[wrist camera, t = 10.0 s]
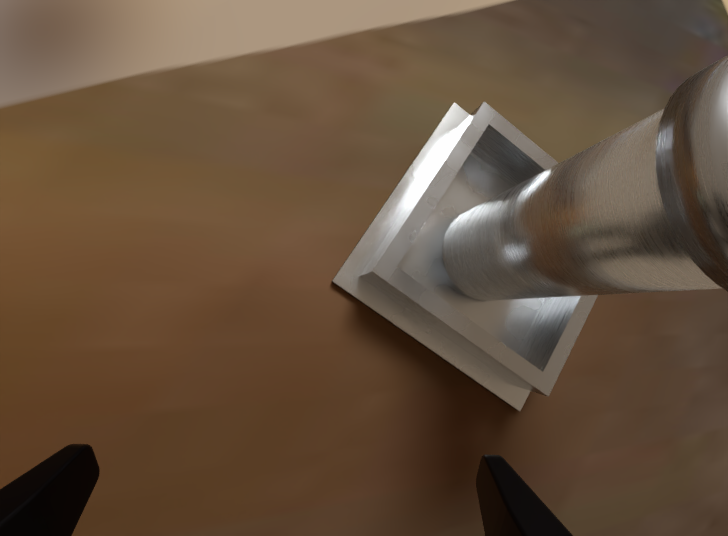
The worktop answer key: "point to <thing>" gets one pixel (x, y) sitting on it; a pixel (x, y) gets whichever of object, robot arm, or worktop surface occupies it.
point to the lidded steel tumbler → (611, 212)
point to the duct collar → (430, 279)
